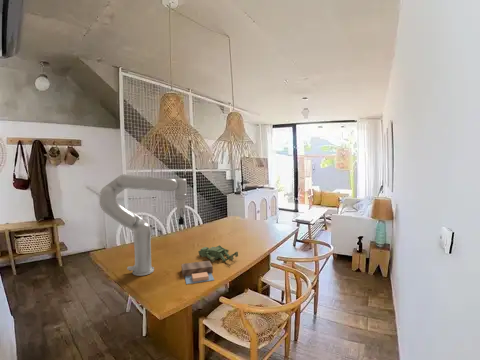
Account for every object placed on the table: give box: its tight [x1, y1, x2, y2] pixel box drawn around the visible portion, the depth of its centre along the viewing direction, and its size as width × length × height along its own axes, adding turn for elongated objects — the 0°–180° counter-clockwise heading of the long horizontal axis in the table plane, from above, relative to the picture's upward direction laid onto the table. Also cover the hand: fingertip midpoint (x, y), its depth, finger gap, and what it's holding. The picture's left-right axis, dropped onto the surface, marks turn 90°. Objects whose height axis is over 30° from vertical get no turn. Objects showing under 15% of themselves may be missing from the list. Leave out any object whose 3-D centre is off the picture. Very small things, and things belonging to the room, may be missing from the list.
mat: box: [184, 273, 215, 285], centre depth 150 cm, size 16×10×1 cm, turn 107°
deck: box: [181, 260, 214, 278], centre depth 160 cm, size 18×10×4 cm, turn 107°
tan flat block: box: [192, 272, 209, 282], centre depth 150 cm, size 9×6×2 cm, turn 108°
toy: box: [198, 245, 239, 263], centre depth 182 cm, size 21×8×30 cm
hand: (181, 224), depth 171 cm, fingers closed
